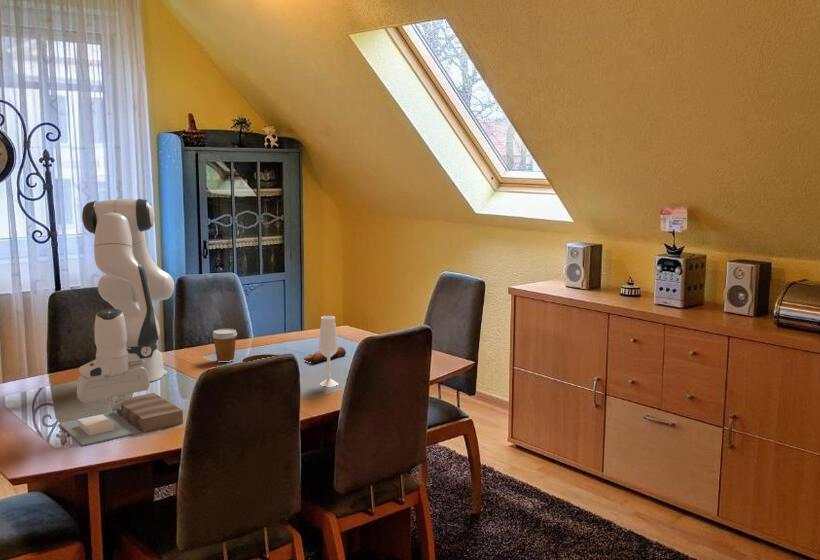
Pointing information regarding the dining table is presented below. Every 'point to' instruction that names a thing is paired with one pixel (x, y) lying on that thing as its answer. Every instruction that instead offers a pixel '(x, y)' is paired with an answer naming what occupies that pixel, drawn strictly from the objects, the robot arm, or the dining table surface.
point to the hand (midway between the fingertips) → (115, 410)
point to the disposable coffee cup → (225, 344)
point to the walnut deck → (150, 412)
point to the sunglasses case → (320, 357)
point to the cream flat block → (95, 424)
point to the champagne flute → (328, 345)
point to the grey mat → (83, 438)
